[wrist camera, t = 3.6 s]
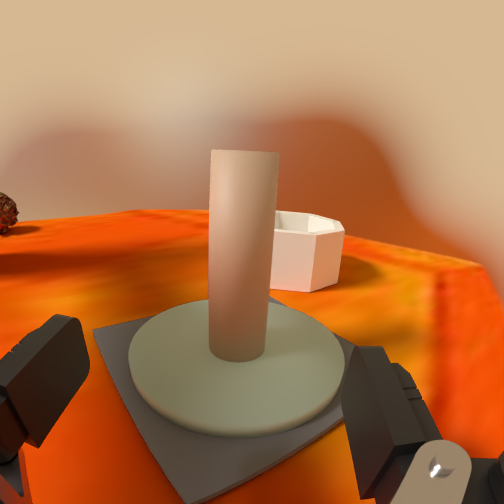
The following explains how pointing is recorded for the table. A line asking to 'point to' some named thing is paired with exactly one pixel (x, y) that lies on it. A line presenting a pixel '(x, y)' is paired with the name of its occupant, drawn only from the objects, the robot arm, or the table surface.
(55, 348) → the robot arm
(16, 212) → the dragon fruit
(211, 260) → the lid
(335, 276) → the bowl
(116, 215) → the table surface
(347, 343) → the mat
